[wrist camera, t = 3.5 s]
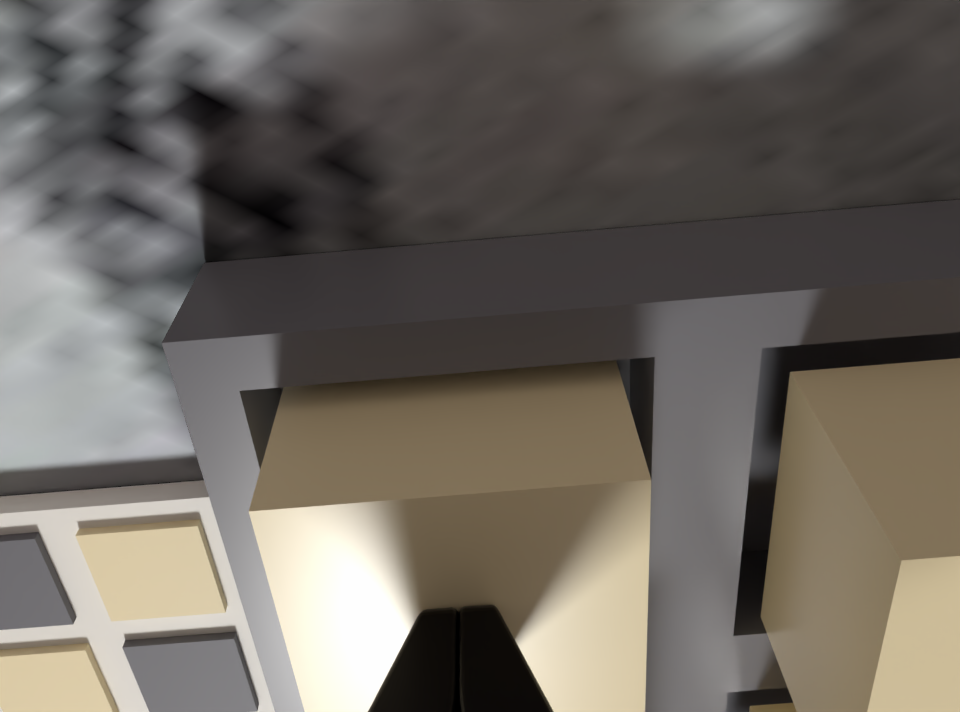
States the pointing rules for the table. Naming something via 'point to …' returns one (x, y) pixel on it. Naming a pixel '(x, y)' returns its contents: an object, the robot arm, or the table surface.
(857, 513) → the button
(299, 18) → the table surface
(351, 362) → the button board
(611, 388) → the button
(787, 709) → the button
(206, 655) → the card
